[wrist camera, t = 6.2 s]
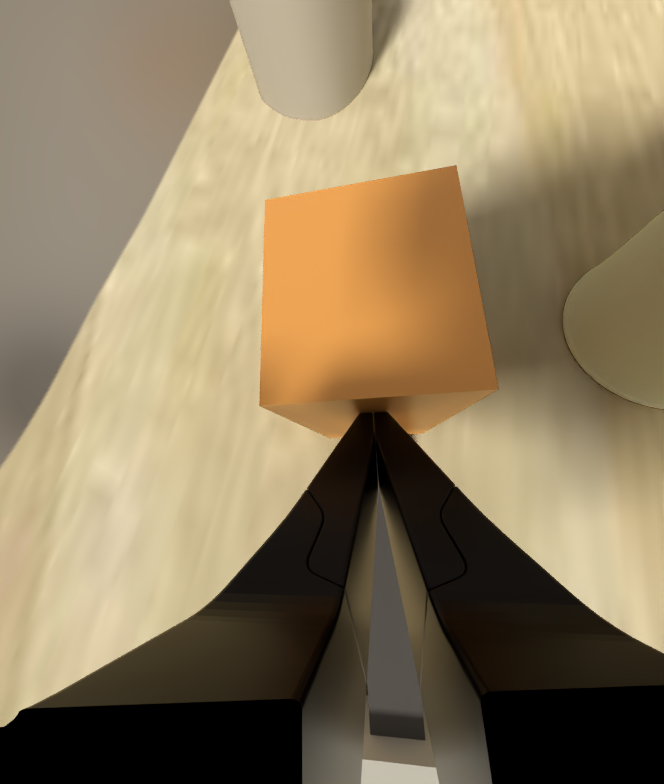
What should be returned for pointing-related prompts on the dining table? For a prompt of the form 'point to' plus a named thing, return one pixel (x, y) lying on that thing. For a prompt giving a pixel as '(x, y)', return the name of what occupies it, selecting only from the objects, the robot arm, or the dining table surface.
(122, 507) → the dining table surface
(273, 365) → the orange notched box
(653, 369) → the can
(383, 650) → the toy mallet
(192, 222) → the dining table surface
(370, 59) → the lumpy-topped squat cylinder
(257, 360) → the dining table surface
